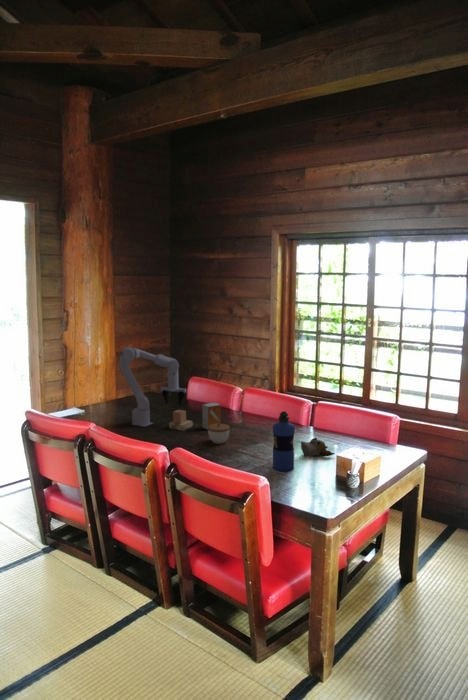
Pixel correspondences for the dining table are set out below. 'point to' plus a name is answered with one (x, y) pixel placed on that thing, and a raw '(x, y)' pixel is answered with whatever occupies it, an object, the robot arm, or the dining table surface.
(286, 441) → the water bottle
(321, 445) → the ceramic sculpture
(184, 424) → the maple base block
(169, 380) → the robot arm
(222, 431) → the lidded jar
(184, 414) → the terracotta block
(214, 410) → the small box
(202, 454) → the dining table surface
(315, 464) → the dining table surface
